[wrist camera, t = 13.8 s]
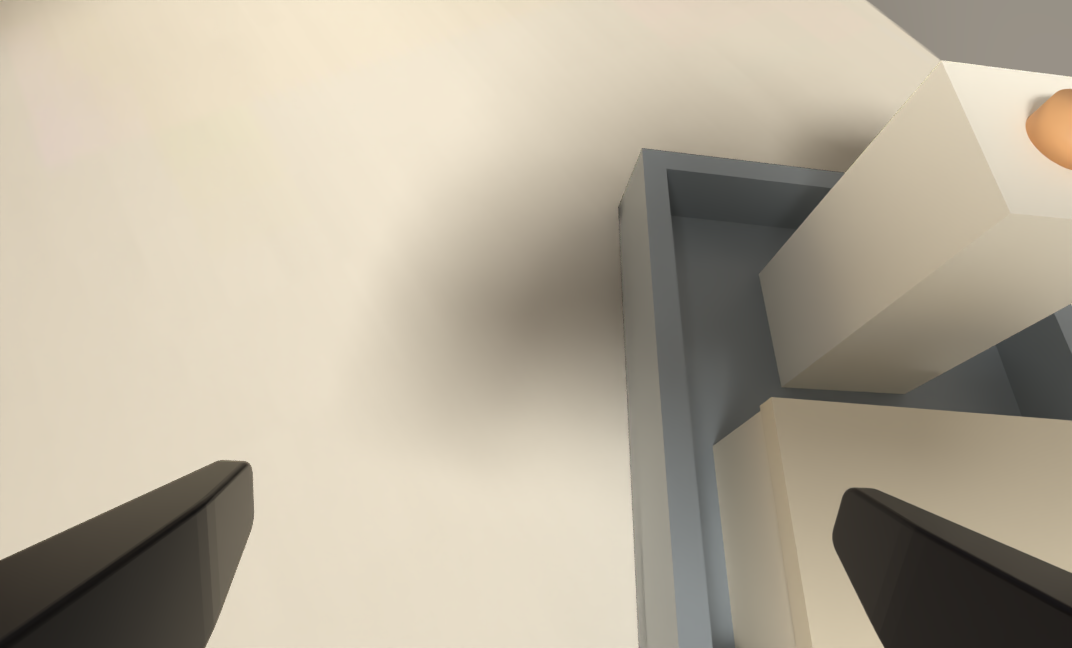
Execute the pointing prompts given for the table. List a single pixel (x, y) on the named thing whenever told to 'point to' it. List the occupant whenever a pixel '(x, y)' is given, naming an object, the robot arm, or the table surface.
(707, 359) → the tote
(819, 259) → the juice carton
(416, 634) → the table surface
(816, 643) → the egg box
